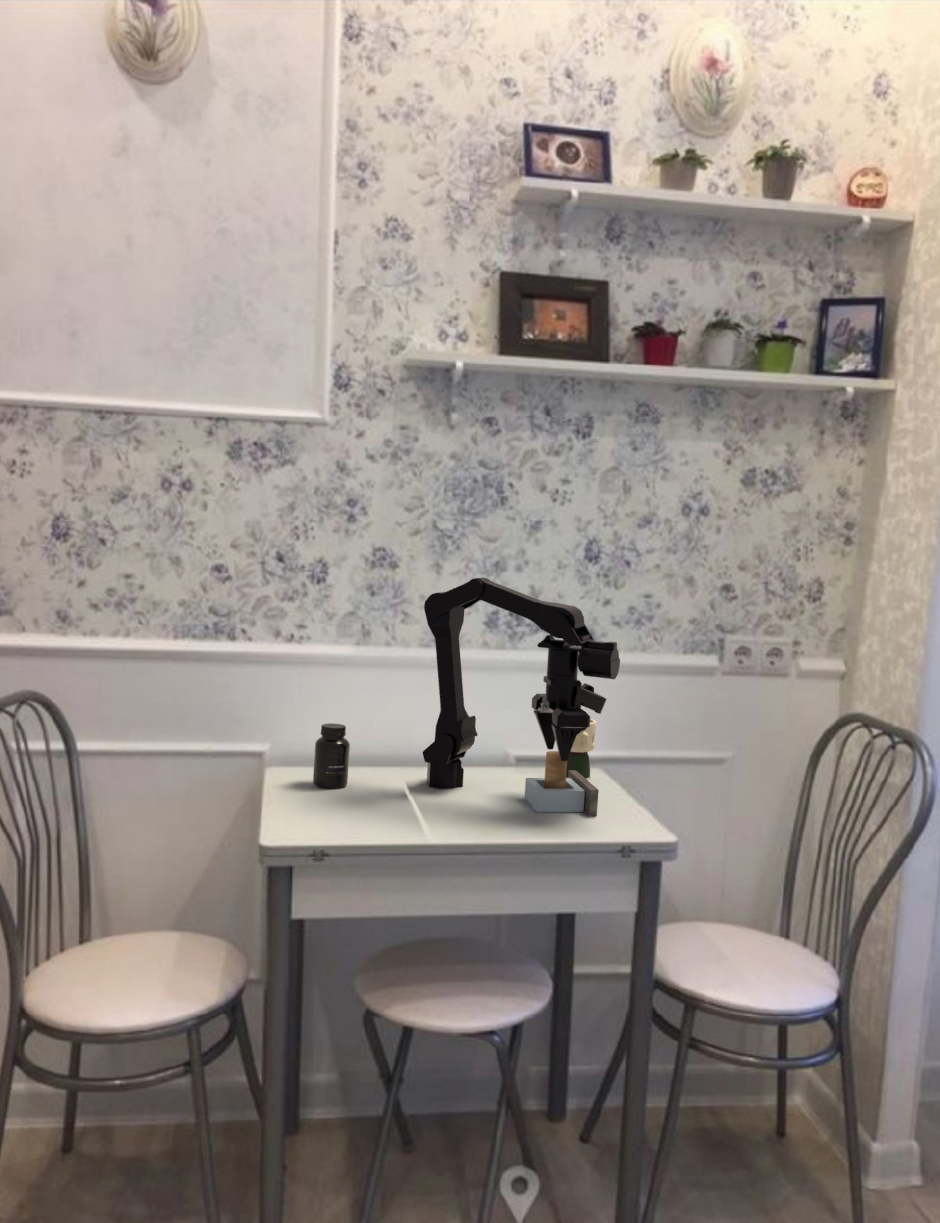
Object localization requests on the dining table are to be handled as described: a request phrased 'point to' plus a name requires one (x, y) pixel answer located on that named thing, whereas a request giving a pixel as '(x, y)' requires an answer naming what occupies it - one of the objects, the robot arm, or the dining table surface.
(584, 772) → the character mug
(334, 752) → the supplement bottle
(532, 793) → the sliding block
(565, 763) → the dowel
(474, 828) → the dining table surface
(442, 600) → the robot arm
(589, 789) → the base board
